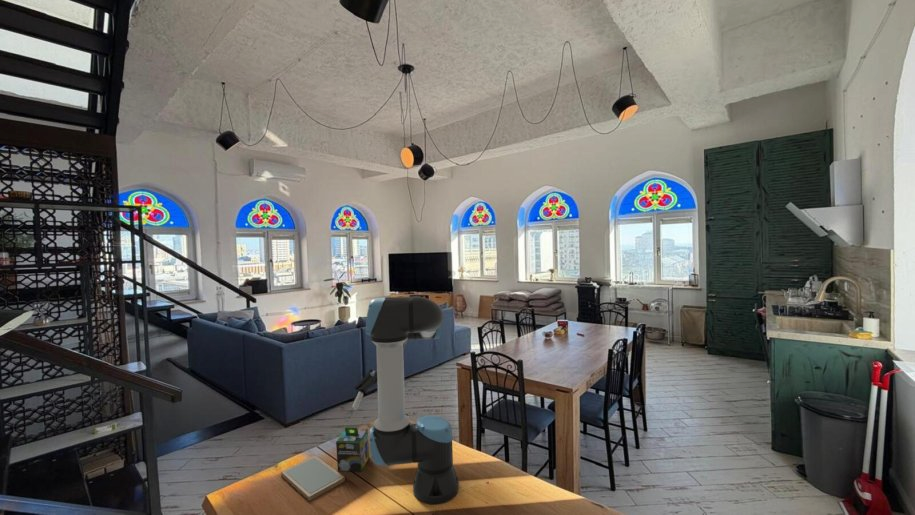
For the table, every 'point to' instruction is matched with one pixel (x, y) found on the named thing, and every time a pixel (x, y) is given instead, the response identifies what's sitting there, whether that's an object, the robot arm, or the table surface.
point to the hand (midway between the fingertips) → (368, 411)
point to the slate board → (312, 477)
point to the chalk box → (352, 449)
